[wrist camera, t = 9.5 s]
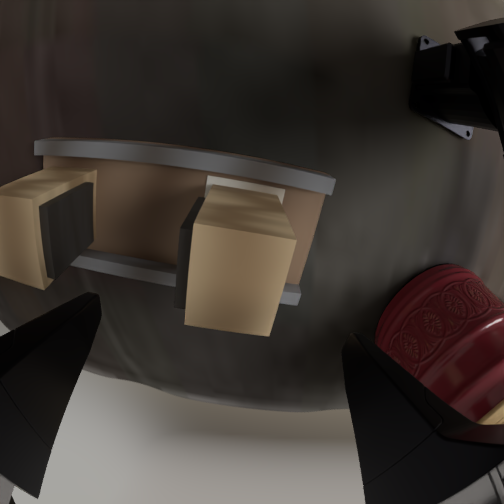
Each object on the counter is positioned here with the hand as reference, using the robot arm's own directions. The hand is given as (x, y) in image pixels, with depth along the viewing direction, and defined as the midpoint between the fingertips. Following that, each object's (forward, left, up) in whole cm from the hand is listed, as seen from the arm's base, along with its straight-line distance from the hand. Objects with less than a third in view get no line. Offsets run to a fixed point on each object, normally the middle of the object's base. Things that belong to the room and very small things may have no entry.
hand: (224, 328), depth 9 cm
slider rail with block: (+5, 0, -11) cm, 12 cm away
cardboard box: (0, 0, -10) cm, 10 cm away
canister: (-20, +6, -11) cm, 24 cm away
